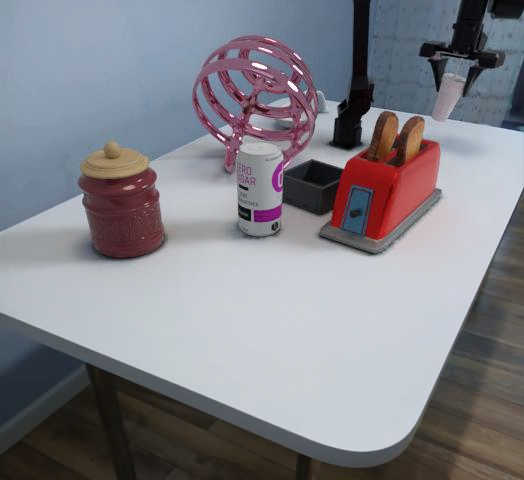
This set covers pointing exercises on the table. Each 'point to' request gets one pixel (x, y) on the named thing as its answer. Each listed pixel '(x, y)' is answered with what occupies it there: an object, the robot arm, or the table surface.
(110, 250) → the kitchen canister
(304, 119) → the spoon rest
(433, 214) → the table surface
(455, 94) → the smoothie
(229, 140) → the spiral basket
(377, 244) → the toaster
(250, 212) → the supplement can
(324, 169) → the bin
